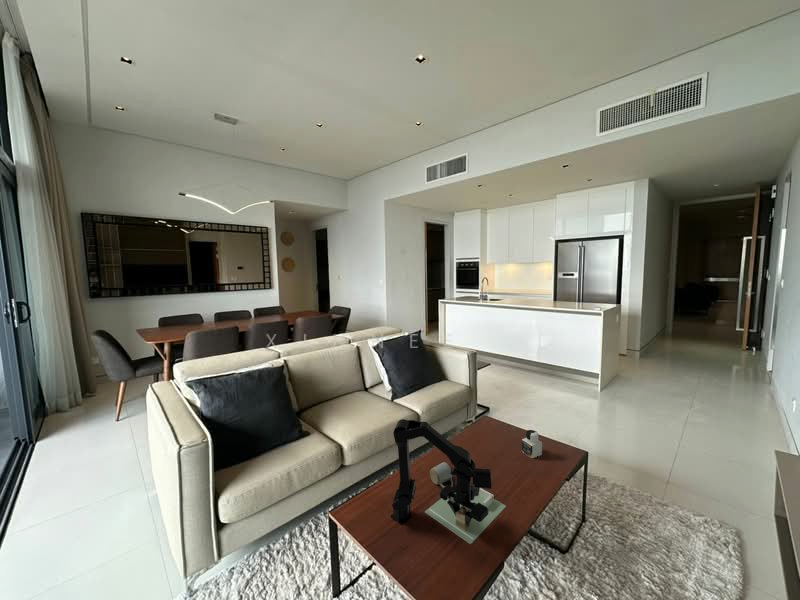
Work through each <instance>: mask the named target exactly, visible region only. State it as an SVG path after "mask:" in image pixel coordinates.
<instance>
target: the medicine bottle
mask: <svg viewBox="0 0 800 600" xmlns="http://www.w3.org/2000/svg"><path fill="white" fill-rule="evenodd" d="M521 452H522V453H523V454H524V455H526V456H527V457H529V458H531V459H534V458H538V457H541V456H542V455H543V442H542V441H541V440H539V433H538V431H536V430H533V429H528V430H526V431H525V437H524V438H522V439H521ZM537 456H538V457H537Z"/></svg>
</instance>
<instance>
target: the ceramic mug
mask: <svg viewBox="0 0 800 600" xmlns="http://www.w3.org/2000/svg"><path fill="white" fill-rule="evenodd" d="M450 472H451V467H450V465H449V464H448V463H447V462H445V461H444V462H441V463H439V464H437V465H436V466H434V467H432V468H431V469H429V477H430V480H431V481H432V483H433V484H434V485H436V486H440V487H441V489H443V488H444V487H445V486H446V485H443V484H444V483H446V482H449V481H450V483H451V485H450V486H452V487H453V484H454V482H453V479H452V478H453V475H451V474H450Z"/></svg>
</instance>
